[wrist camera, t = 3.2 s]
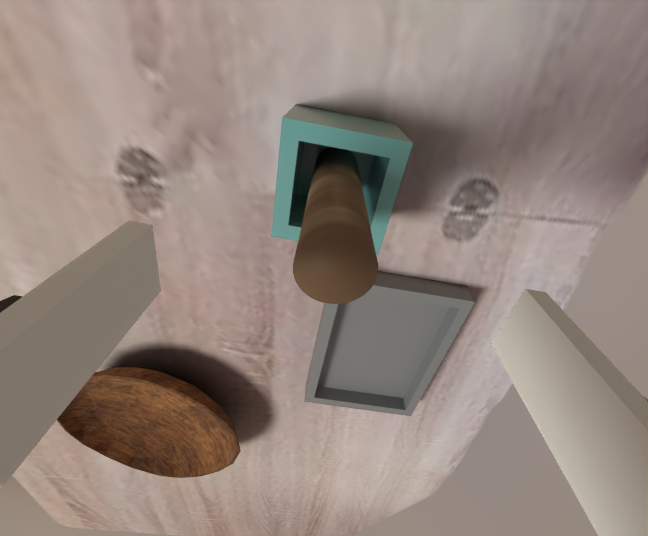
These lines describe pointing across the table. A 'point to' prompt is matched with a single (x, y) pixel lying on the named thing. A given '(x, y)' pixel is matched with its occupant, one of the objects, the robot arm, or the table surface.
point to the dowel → (335, 233)
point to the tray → (385, 344)
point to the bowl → (152, 423)
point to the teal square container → (345, 133)
